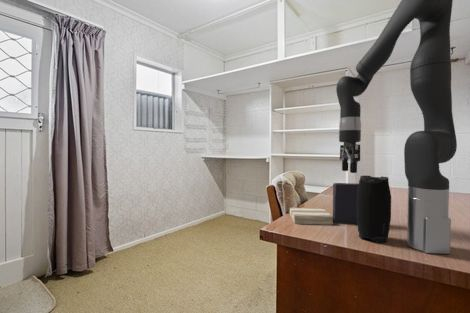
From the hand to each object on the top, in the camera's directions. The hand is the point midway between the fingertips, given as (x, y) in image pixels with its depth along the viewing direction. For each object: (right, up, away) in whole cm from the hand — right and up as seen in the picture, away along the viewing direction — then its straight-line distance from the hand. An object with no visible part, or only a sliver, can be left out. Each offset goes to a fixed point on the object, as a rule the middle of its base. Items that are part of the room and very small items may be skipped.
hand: (349, 171), depth 95 cm
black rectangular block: (0, -20, 0) cm, 20 cm away
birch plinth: (-14, -19, +5) cm, 24 cm away
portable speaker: (-1, -20, -18) cm, 27 cm away
